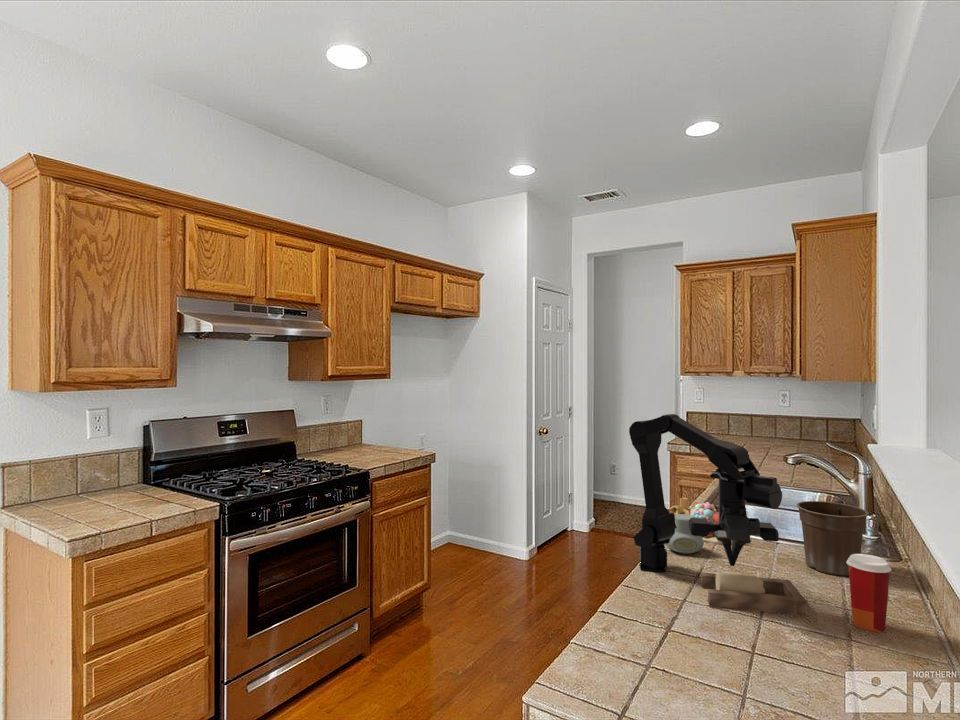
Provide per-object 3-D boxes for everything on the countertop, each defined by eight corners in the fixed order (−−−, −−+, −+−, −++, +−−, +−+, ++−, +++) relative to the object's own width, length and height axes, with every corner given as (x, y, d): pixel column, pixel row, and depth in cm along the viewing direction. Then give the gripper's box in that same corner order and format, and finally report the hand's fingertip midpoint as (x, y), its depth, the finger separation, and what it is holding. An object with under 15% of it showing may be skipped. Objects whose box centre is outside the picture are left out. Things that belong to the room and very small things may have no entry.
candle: (719, 601, 126) (766, 605, 124) (719, 578, 126) (766, 582, 124) (715, 590, 132) (760, 594, 129) (715, 567, 131) (760, 571, 129)
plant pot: (792, 553, 157) (792, 497, 157) (858, 561, 151) (858, 503, 151) (802, 574, 142) (802, 512, 142) (876, 583, 136) (876, 519, 136)
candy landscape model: (652, 533, 177) (652, 504, 177) (674, 516, 195) (674, 490, 195) (735, 549, 162) (735, 518, 162) (751, 529, 180) (751, 501, 180)
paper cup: (883, 620, 117) (883, 555, 117) (897, 637, 110) (897, 568, 110) (841, 614, 119) (841, 551, 119) (852, 631, 112) (852, 563, 112)
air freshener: (701, 547, 162) (701, 513, 162) (705, 557, 154) (706, 522, 154) (662, 544, 165) (662, 511, 165) (665, 554, 157) (665, 519, 157)
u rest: (709, 605, 124) (709, 592, 124) (700, 584, 135) (700, 572, 135) (806, 615, 119) (806, 601, 119) (789, 592, 131) (789, 580, 131)
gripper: (695, 506, 123) (695, 575, 123) (786, 511, 118) (786, 583, 118) (688, 494, 133) (688, 557, 133) (771, 498, 129) (771, 564, 129)
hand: (731, 565), depth 128 cm, fingers closed
